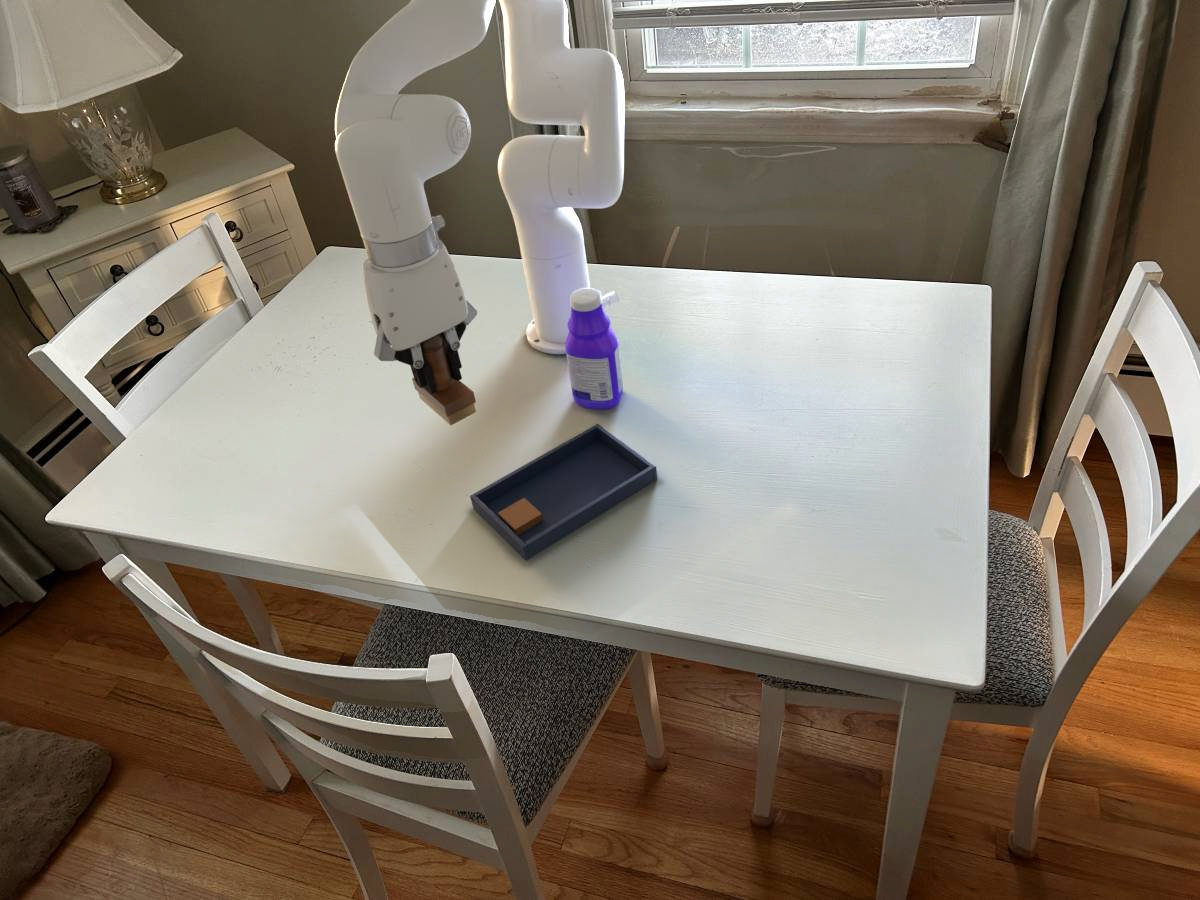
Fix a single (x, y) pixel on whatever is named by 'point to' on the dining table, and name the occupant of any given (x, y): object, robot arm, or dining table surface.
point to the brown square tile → (520, 516)
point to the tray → (566, 488)
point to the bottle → (592, 353)
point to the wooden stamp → (444, 385)
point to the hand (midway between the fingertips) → (440, 381)
